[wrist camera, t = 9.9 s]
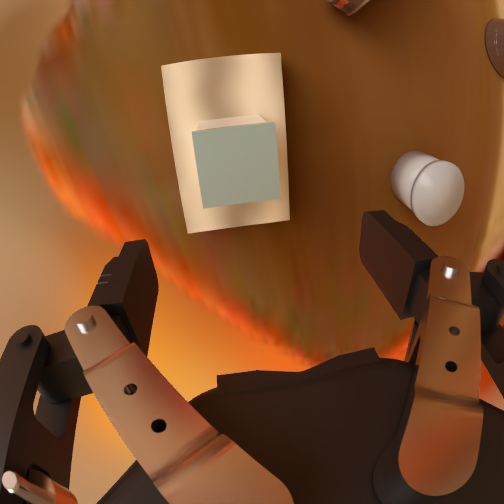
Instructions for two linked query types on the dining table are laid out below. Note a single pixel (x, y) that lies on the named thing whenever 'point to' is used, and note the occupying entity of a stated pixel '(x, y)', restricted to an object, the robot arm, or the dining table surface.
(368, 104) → the dining table surface
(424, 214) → the sugar bowl
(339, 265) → the dining table surface
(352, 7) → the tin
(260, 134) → the green and cream block
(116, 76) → the dining table surface
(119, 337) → the robot arm
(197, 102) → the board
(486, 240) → the dining table surface
